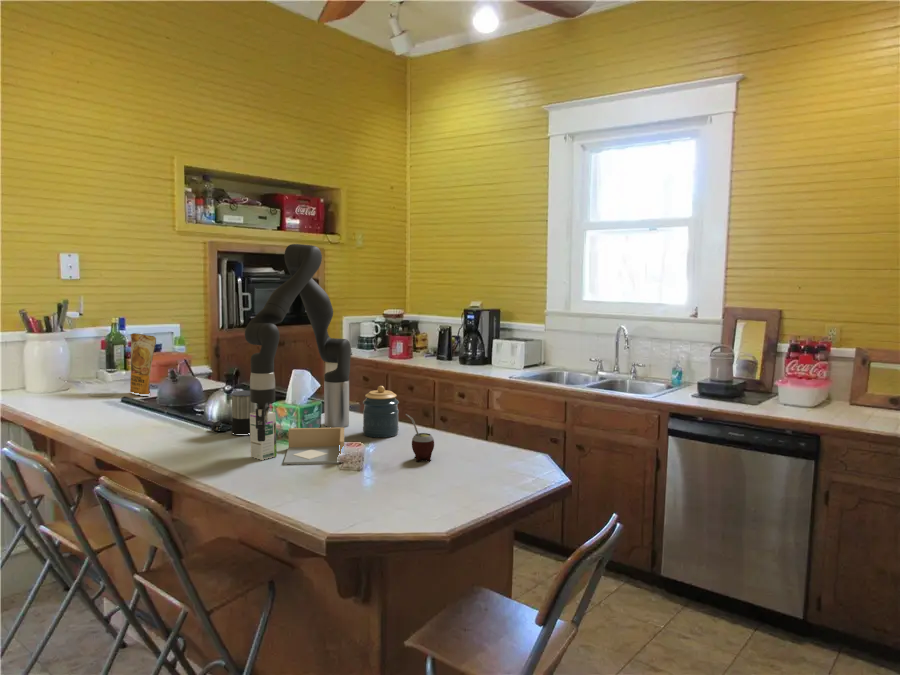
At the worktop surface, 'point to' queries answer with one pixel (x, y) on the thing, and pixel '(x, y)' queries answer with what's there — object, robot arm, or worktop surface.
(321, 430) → the corner arena
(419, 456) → the mate gourd
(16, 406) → the worktop surface
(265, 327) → the robot arm
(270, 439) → the syrup box
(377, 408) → the canister
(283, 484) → the worktop surface
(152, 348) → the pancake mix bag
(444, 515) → the worktop surface
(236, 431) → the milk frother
